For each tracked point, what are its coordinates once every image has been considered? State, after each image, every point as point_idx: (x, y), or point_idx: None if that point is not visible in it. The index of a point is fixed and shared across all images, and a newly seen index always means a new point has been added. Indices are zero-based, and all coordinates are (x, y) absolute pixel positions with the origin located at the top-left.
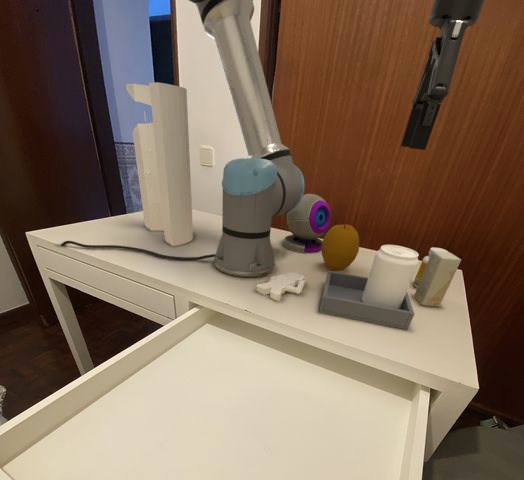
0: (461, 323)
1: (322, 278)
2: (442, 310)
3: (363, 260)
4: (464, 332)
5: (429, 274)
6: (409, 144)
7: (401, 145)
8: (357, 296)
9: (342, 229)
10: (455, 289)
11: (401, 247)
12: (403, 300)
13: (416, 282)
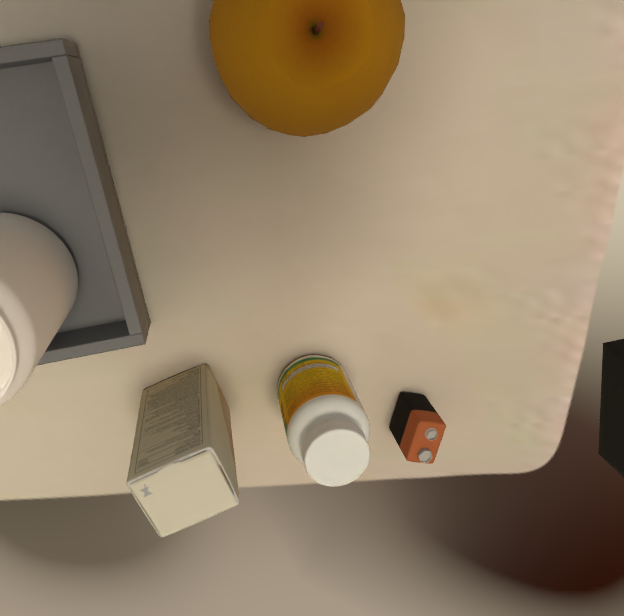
0: (96, 489)
1: (136, 17)
2: None
3: (470, 150)
4: (40, 495)
5: (162, 426)
6: (614, 422)
7: (605, 348)
8: (31, 192)
9: (260, 23)
10: None
11: (13, 353)
12: None
13: (294, 367)
